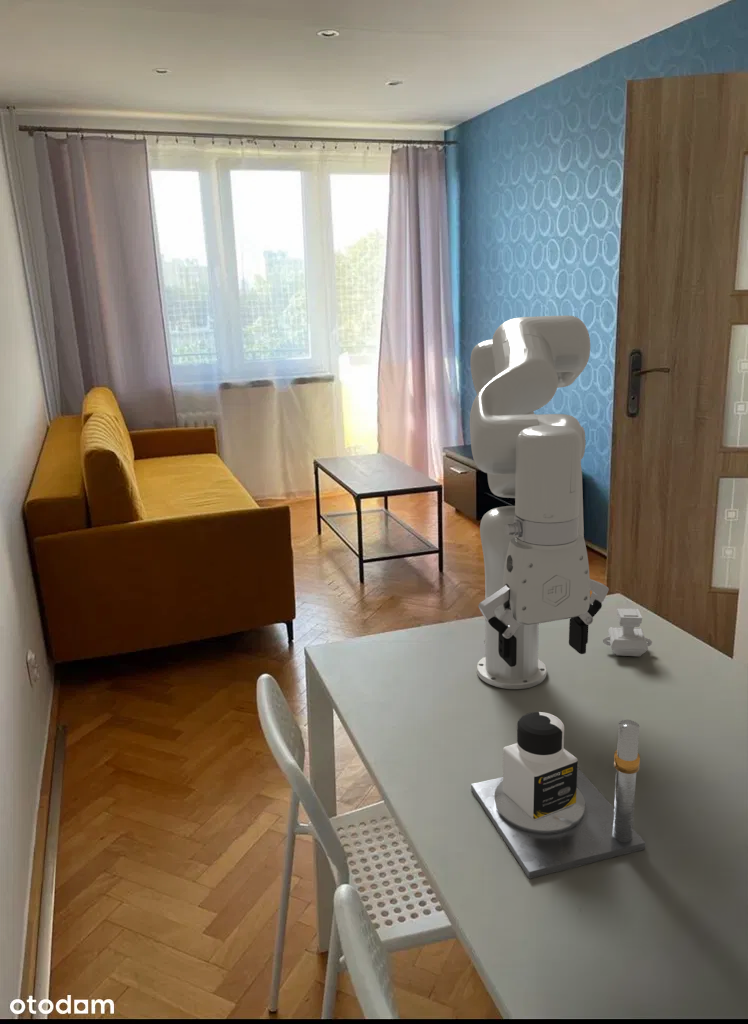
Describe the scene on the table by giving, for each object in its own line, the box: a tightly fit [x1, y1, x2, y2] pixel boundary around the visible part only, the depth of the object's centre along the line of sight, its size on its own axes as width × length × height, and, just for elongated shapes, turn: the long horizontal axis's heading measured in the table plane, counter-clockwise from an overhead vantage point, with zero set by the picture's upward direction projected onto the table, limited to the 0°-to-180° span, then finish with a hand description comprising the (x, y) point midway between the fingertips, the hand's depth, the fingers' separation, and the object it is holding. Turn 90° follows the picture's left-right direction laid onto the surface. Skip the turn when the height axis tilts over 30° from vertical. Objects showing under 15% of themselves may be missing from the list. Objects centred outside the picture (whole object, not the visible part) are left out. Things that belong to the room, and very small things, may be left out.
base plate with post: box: [470, 719, 646, 879], centre depth 102 cm, size 18×16×17 cm
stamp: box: [602, 608, 653, 657], centre depth 147 cm, size 9×7×8 cm
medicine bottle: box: [502, 711, 579, 820], centre depth 104 cm, size 7×7×12 cm
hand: (543, 655), depth 99 cm, fingers open, 9 cm apart
